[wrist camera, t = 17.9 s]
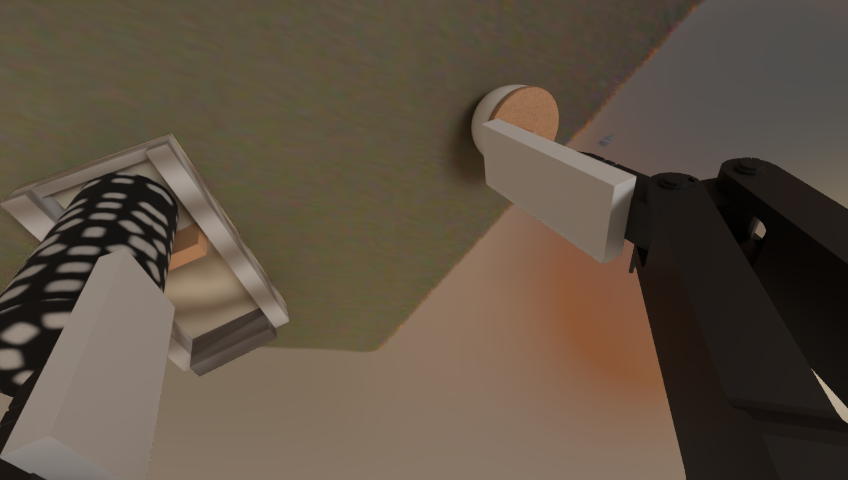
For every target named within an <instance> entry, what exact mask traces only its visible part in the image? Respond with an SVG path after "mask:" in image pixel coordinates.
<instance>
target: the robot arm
mask: <svg viewBox="0 0 848 480" xmlns="http://www.w3.org/2000/svg"><path fill="white" fill-rule="evenodd" d="M481 126H482V139H483V151H484V163H485V175H486V184H487V185H488V186H490V187H491V188H493V189H494V190H495V191H497V192H498V193H500V194H501V195H503V196H504V197H506V198H507V199H509V200H510V201H511V202H513V203H514V204H516V205H517V206H519V207H520V208H522V209H523V210H525V211H526V212H527V213H529V214H530V215H532V216H533V217H535V218H536V219H538V220H539V221H541V222H542V223H544V224H545V225H546V226H548V227H549V228H551V229H552V230H554V231H555V232H557V233H558V234H560V235H561V236H563V237H564V238H565V239H567V240H568V241H570V242H571V243H573V244H574V245H575V246H577V247H578V248H580V249H582V250H583V251H584V252H586V253H587V254H589V255H590V256H592V257H593V258H594V259H596V260H597V261H599V262H600V263H602V264H604V263H606V262H608V261H610V260H612V259H614V258H616V257H618V256H620V255H622V250H623V245H624V240H625V239H627V240H628V241H630V242H632V243H633V244H634V249H633V254H632V259H631V263H630V268H629V273H633V270H634V268H635V267H636V269H637V274H638V278H639V282H640V286H641V290H642V294H643V299H644V303H645V307H646V311H647V315H648V319H649V323H650V328H651V332H652V336H653V340H654V344H655V348H656V353H657V357H658V361H659V365H660V369H661V373H662V377H663V381H664V386H665V390H666V393H667V398H668V402H669V407H670V411H671V415H672V419H673V423H674V427H675V431H676V435H677V439H678V444H679V448H680V452H681V456H682V461H683V464H684V469H685V474H686V480H848V423H846V422H845V421H844V420H842V418H841V417H840V416H839V414H838V413H837V412H836V410H835V408H834V407H833V405H832V403H831V402H830V400H829V398H828V396H827V395H826V393H825V391H824V390H823V388H822V386H821V384H820V383H819V381H818V379H817V378H816V376H815V375H814V373H813V371H815V373H816V374H817V375H818V376H819V377H820V378H821V379H822V380H823V382H824V383H825V384H826V385H827V386H828V387H829V388H830V389H831V390H832V391H833V392H834V394H835V395H836V396H837V397H838V398H839V399H840V400H841V401H842V402H843V404H844V405H845V406H846V407H847V408H848V209H847V208H845V207H844V206H842V205H840V204H839V203H837V202H835V201H834V200H832V199H831V198H829V197H827V196H826V195H824V194H822V193H821V192H819V191H817V190H816V189H814V188H812V187H811V186H809V185H808V184H806V183H804V182H803V181H801V180H799V179H798V178H796V177H795V176H793V175H791V174H790V173H788V172H786V171H785V170H783V169H781V168H780V167H778V166H777V165H774V164H772V163H770V162H767V161H763V160H760V159H757V158H752V159H751V158H738V159H731V160H727V161H725V162H724V163H722V165H721V168H720V171H719V174H718V177H717V178H712V179H707V180H701V181H699V180H698V179H697V178H695V177H693V176H690V175H687V174H682V173H672V172H668V173H660V174H657V175H654V176H652V177H649V176H646V175H644V174H641V173H639V172H636V171H634V170H631V169H629V168H627V167H624V166H622V165H619V164H617V165H616V164H615V163H614V162H611V161H609V160H605V159H604V158H602V157H599V156H597V155H594V154H591V153H585V152H579V151H574V150H572V149H569V148H567V147H565V146H562V145H560V144H558V143H555V142H553V141H550V140H548V139H546V138H543V137H541V136H538V135H536V134H534V133H531V132H529V131H526V130H524V129H522V128H519V127H517V126H514V125H512V124H510V123H507V122H505V121H502V120H500V119H498V118H497V119H494V120H491V121H489V122H486V123H483V124H481ZM760 221H761V222H762V223H763V224H764V226H765V228H766V233H765V235H764V237H763V238H761V237H759V236H758V235H757V234H756V233H755V231H756V228H757V226H758V224H759V222H760ZM174 312H175V307H174V305H173V304H172V303H171V302H170V301H169V299H168V298H167V297H166V296H165V295H164V293H163V292H162V291H161V290H160V289H159V287H158V286H157V285H156V284H155V283H154V281H153V280H152V279H151V278H150V277H149V275H148V274H147V273H146V272H145V271H144V269H143V268H142V267H141V266H140V265H139V263H138V262H137V261H136V260H135V259H134V257H133V256H132V255H131V254H130V253H129V251H128V250H127V249H126V248H125V249H122V250H119V251H116V252H113V253H110V254H107V255H105V256H102V257H99V258H98V260H97V262H96V264H95V266H94V268H93V270H92V272H91V274H90V276H89V278H88V281H87V283H86V285H85V287H84V289H83V291H82V293H81V295H80V297H79V299H78V301H77V303H76V305H75V307H74V309H73V311H72V313H71V315H70V317H69V319H68V321H67V323H66V325H65V327H64V329H63V331H62V333H61V335H60V337H59V339H58V341H57V343H56V345H55V347H54V349H53V351H52V353H51V355H50V357H49V359H48V361H47V363H46V365H43V366H41V367H38V368H37V369H36V370H35V371H34V372H33V373H32V374H31V375H30V376H29V378H28V379H27V380H26V381H25V382H24V383H23V384H22V385H21V386H20V387H19V389H18V390H17V392H16V394H15V396H14V398H13V400H12V402H11V403H10V405H9V407H8V408H9V411H7V412H6V413H5V415H4V417H3V419H2V420H1V422H0V480H147V475H148V468H149V463H150V457H151V451H152V445H153V438H154V432H155V426H156V420H157V414H158V408H159V402H160V396H161V390H162V383H163V378H164V372H165V366H166V360H167V354H168V348H169V342H170V336H171V330H172V324H173V318H174ZM811 368H812V369H813V371H812V369H811Z"/></svg>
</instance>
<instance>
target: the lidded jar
mask: <svg viewBox="0 0 848 480" xmlns="http://www.w3.org/2000/svg"><path fill="white" fill-rule="evenodd" d="M497 118H498V119H500V120H502V121H505V122H507V123H510V124H512V125H514V126H517V127H519V128H522V129H524V130H526V131H529V132H531V133H534V134H536V135H538V136H541V137H543V138H546V139H548V140H550V141H554V139H555V136H556V133H557V129H558V121H559V116H558V109H557V105H556V102H555V100H554V99H553V97H552V96H551V95H550V94H549V93H548V92H547V91H546V90H544V89H542V88H539V87H533V86H525V85H506V86H502V87H499V88H497V89H495V90H493V91H491V92H490V93H488V94H487V95H486V96H485V97H484V98H483V99H482V100H481V101H480V103H479V104H478V106H477V107H476V110H475V112H474V115H473V118H472V125H471V131H472V137H473V140H474V143H475V145H476V147H477V149H478V150H479V152H480V153H481V154H482V155H483V156H484V151H483V139H482V126H481V124H483V123H486V122H489V121H491V120H494V119H497Z"/></svg>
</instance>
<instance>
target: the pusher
mask: <svg viewBox="0 0 848 480" xmlns="http://www.w3.org/2000/svg"><path fill="white" fill-rule="evenodd" d="M207 242H208V237H207V235H206V234H205V233H204V231H203V230H202V229H201V227H200V226H199V225H198V223H195V224H193V225H190V226H188V227H186V228H183V229H181V230H178V231H176V235H175V240H174V245H173V250H172V255H171V260H170V265H169V270H172V269H174V268H176V267H179V266H181V265H184V264H186V263H188V262H191V261H193V260H195V259H198V258H200V257H202V256H205V255H206V254H207ZM169 270H168V271H169Z"/></svg>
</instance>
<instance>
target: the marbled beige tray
mask: <svg viewBox="0 0 848 480" xmlns="http://www.w3.org/2000/svg"><path fill="white" fill-rule="evenodd" d="M110 173H132V174H138V175H141V176H144V177H148V178H150V179H152V180H154V181H156V182H158V183H159V184H160V185H162V186H163V187H165V188H166V189H167V190H168V191H169V192H170V193H171V195H172V196H173V197H174V199H175V201H176V203H177V205H178V210H179V219H178V225H177V230H176V231H178V230H181V229H183V228H186V227H188V226H190V225H193V224H195V223H198V225H199V226H200V227H201V229H202V230H203V231H204V233H205V234H206V235H207V237H208V242H207V254H206V255H205V256H202V257H200V258H198V259H195V260H193V261H191V262H188V263H186V264H184V265H181V266H179V267H176V268H174V269H172V270H169V271H168V275H167V280H166V285H165V290H164V295H165V296H166V297H167V298H168V299H169V301H170V302H171V303H172V304H173V305H174V307H175V312H174V318H173V324H172V330H171V336H170V342H169V348H168V354H167V357H168V358H169V359H171V360H172V361H173V362H174V363H175V364H176V365H177V366H178V367H179V368H180V369H181V370H183V371H184V372H186V371H188V370H190V369H192V370H193V371H194V372H195V373H196V374H197V375H199V376H201V375H203V374H205V373H207V372H209V371H212V370H214V369H216V368H218V367H219V366H222V365H224V364H226V363H228V362H230V361H232V360H234V359H236V358H238V357H240V356H242V355H244V354H246V353H248V352H250V351H252V350H254V349H256V348H258V347H260V346H262V345H264V344H266V343H268V342H270V341H272V340H274V339H276V338H277V336H276V330H275V328H277V327H279V326H281V325H283V324H285V323H287V322H289V316H288V311H287V306H286V303H285V301H284V300H283V298H282V297H281V295H280V294H279V292H278V291H277V289H276V288H275V286H274V285H273V283H272V282H271V280H270V279H269V277H268V276H267V274H266V273H265V271H264V270H263V268H262V267H261V265H260V264H259V262H258V261H257V259H256V258H255V256H254V255H253V253H252V252H251V250H250V249H249V247H248V246H247V244H246V243H245V242H244V240H243V239H242V237H241V236H240V234H239V233H238V231H237V230H236V228H235V227H234V225H233V224H232V222H231V221H230V219H229V218H228V216H227V215H226V213H225V212H224V210H223V209H222V207H221V206H220V204H219V203H218V201H217V200H216V198H215V197H214V195H213V194H212V192H211V191H210V189H209V188H208V186H207V185H206V183H205V182H204V180H203V179H202V177H201V176H200V174H199V173H198V171H197V170H196V169H195V167H194V166H193V164H192V163H191V161H190V160H189V158H188V157H187V155H186V154H185V152H184V151H183V149H182V148H181V146H180V145H179V143H178V142H177V140H176V139H175V137H174V136H173V134H172V133H171V134H168V135H165V136H162V137H159V138H156V139H154V140H151V141H148V142H145V143H142V144H139V145H137V146H134V147H131V148H128V149H125V150H122V151H120V152H117V153H114V154H111V155H108V156H105V157H103V158H100V159H97V160H94V161H91V162H88V163H85V164H83V165H80V166H77V167H74V168H71V169H68V170H66V171H63V172H60V173H57V174H54V175H51V176H49V177H46V178H43V179H40V180H37V181H34V182H32V183H29V184H26V185H23V186H20V187H19V188H17V189H16V190H15V191H14V192H13V193H12V194H10V195H9V196H8V197H7V198H6V199H5V200H3V201H2V202H1V203H0V205H1V206H2V207H3V208H4V209H6V210H7V211H8V212H9V213H10V214H11V215H12V216H13V217H14V218H15V219H17V220H18V221H19V222H20V223H21V224H22V225H23V226H24V227H25V228H26V229H28V230H29V231H30V232H31V233H32V234H33V235H34V236H35V237H36V238H37V239H39V240H40V241H42V240H43V239H44V238H45V236H46V235H47V234H48V232H49V231H50V230H51V228H52V227H53V226H54V224H55V223H56V222H57V220H58V219H59V218H60V216H61V215H62V214H63V212H64V211H65V210H66V208H67V207H68V206H69V204H70V203H71V202H72V200H73V199H74V198H75V196H76V195H77V194H78V192H79V191H80V190H81V188H82V187H83V186H84V185H85V184H87V183H88V182H89V181H91V180H92V179H94V178H97V177H100V176H103V175H105V174H110Z"/></svg>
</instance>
